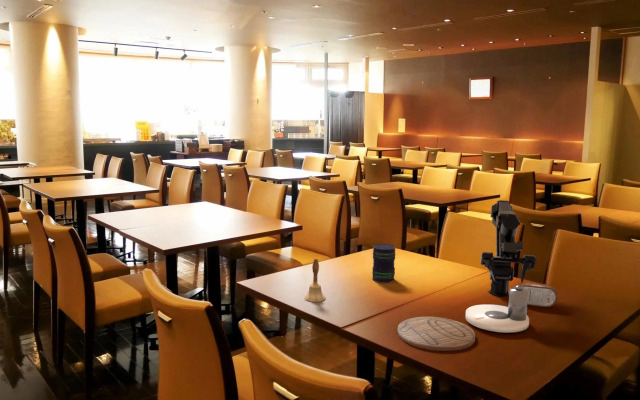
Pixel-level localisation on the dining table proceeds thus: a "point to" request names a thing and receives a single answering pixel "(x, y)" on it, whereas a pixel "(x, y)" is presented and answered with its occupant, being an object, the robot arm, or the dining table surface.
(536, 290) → the tin
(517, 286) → the grey metal cylinder
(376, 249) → the storage jar
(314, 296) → the hand bell
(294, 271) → the dining table surface
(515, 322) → the turntable
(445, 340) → the trivet
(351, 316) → the dining table surface
